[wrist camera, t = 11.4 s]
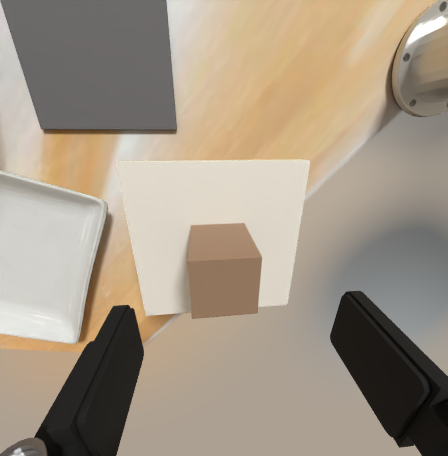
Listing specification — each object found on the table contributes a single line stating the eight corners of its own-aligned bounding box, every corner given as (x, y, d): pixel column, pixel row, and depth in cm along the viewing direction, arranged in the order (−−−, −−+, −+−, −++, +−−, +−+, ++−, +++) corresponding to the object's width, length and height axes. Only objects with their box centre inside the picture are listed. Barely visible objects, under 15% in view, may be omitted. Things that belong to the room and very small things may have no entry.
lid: (305, 159, 15) (361, 170, 10) (284, 298, 20) (314, 355, 15) (119, 161, 14) (69, 174, 9) (147, 309, 19) (127, 374, 14)
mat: (162, -50, 20) (161, -54, 20) (176, 129, 27) (176, 129, 26) (-17, -65, 19) (-22, -70, 18) (44, 129, 25) (41, 128, 25)
